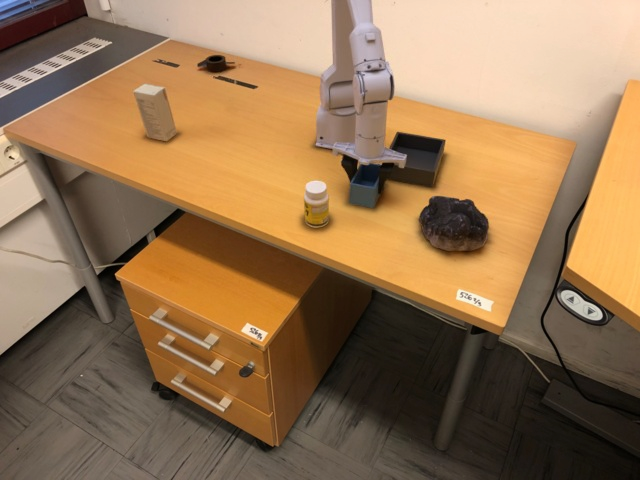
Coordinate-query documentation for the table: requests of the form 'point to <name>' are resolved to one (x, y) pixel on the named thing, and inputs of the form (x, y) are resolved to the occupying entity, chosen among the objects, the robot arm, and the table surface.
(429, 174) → the charcoal bin
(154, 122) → the cosmetic box
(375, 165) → the blue bin
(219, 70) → the black ring with tabs
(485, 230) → the crystal cluster
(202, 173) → the table surface
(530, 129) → the table surface
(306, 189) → the supplement bottle
